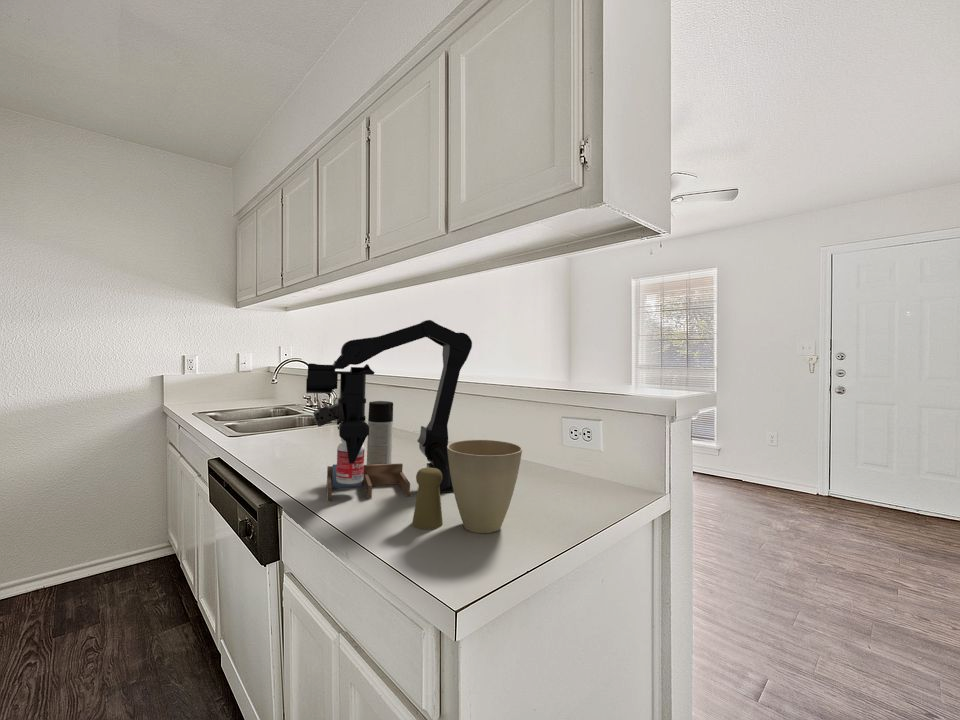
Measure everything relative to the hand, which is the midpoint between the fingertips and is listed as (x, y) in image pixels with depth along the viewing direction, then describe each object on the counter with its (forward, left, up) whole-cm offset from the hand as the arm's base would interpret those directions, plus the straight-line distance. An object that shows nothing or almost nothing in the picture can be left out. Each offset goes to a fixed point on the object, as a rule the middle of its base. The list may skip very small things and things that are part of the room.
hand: (350, 460), depth 108 cm
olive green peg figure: (-14, +22, -8) cm, 27 cm away
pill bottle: (0, 0, -5) cm, 5 cm away
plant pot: (-24, +26, -8) cm, 36 cm away
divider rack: (-4, -2, -8) cm, 9 cm away
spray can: (-9, -16, -8) cm, 20 cm away
